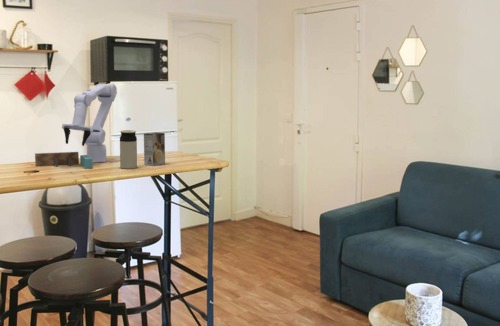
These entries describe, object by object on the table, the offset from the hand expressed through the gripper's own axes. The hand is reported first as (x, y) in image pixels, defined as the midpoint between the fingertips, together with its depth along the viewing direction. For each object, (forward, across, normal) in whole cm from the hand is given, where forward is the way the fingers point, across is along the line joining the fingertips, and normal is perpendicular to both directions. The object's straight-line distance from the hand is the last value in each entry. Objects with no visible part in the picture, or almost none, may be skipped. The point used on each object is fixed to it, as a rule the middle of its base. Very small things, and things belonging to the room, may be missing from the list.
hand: (74, 144), depth 249 cm
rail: (+10, +6, +5) cm, 12 cm away
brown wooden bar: (+10, -8, +8) cm, 15 cm away
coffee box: (+3, +38, +11) cm, 40 cm away
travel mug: (+8, +27, +1) cm, 28 cm away
